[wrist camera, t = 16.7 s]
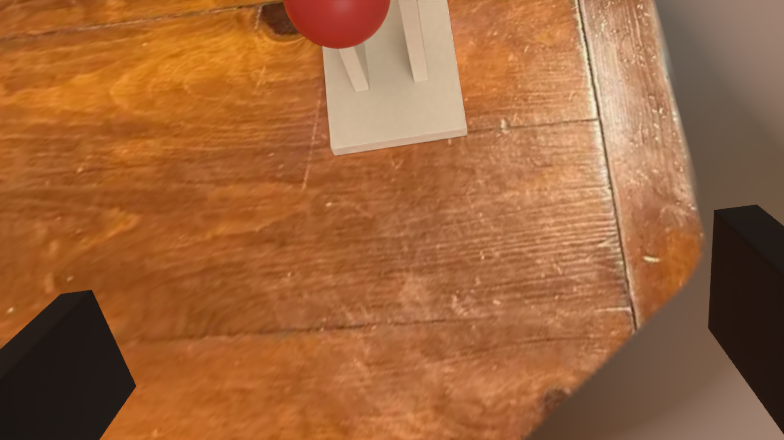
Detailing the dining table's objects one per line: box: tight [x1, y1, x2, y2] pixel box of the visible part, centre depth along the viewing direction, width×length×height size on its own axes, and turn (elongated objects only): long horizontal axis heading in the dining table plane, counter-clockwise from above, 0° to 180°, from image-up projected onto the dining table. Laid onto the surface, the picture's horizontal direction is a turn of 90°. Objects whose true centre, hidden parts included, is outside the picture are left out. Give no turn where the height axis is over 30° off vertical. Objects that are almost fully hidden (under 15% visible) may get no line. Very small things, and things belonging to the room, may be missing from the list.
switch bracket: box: [322, 0, 467, 156], centre depth 33 cm, size 12×9×15 cm
